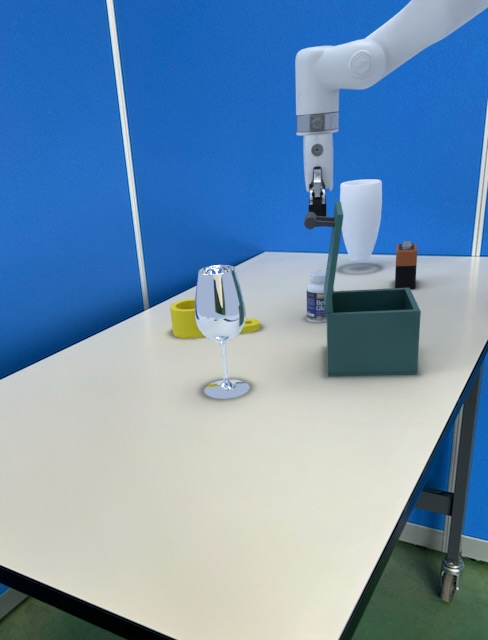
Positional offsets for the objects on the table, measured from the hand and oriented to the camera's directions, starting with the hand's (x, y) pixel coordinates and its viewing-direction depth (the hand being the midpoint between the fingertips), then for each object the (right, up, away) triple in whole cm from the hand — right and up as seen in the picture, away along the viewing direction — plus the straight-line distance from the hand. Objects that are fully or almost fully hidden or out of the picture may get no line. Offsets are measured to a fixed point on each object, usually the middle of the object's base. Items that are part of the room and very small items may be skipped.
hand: (317, 221), depth 120 cm
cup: (+19, -1, +40) cm, 44 cm away
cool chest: (+6, -28, -14) cm, 32 cm away
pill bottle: (+2, -18, +8) cm, 20 cm away
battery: (+25, -9, +23) cm, 35 cm away
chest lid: (-2, -11, -21) cm, 24 cm away
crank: (-19, -20, +8) cm, 29 cm away
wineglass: (-19, -33, -18) cm, 42 cm away
